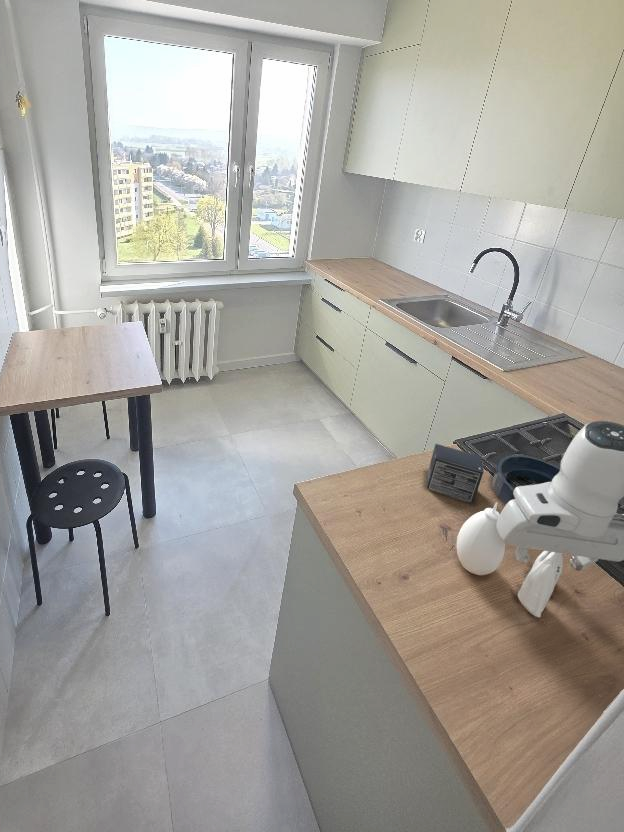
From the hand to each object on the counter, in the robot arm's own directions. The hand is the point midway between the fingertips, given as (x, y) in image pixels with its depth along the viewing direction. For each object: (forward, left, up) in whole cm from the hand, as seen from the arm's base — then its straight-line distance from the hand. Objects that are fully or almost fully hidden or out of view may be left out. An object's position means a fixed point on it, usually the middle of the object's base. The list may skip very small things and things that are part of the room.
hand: (547, 563), depth 76 cm
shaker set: (0, 0, -9) cm, 9 cm away
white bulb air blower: (+10, -4, -9) cm, 14 cm away
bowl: (-12, -25, -9) cm, 29 cm away
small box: (+8, -25, -9) cm, 28 cm away
